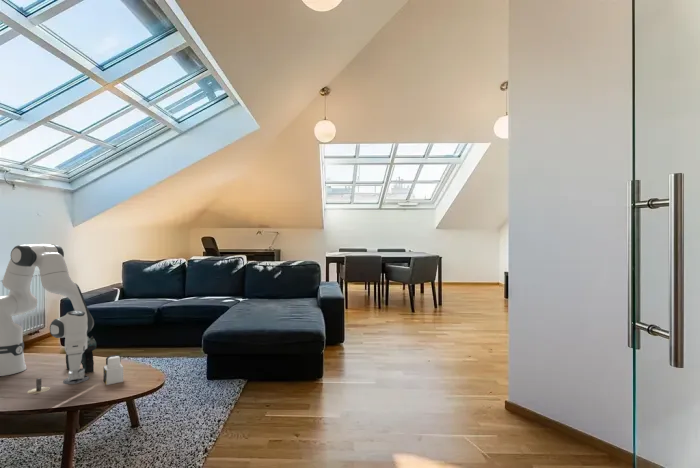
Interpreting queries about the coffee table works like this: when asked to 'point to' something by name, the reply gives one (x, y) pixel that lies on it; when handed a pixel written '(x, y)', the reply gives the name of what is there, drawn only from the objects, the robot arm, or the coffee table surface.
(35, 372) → the coffee table surface
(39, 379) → the stand
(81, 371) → the square tunnel block
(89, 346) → the bull figurine
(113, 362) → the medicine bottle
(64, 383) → the hub
